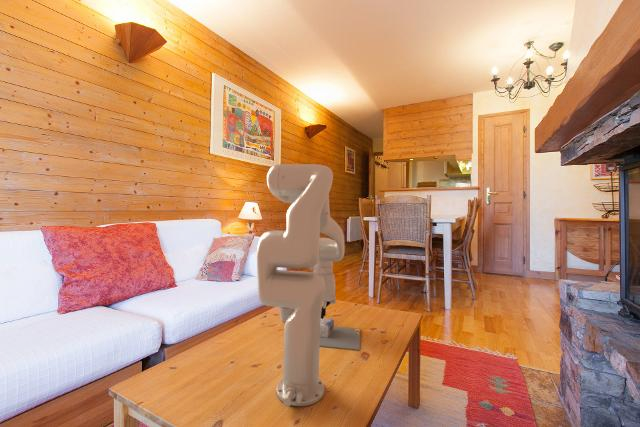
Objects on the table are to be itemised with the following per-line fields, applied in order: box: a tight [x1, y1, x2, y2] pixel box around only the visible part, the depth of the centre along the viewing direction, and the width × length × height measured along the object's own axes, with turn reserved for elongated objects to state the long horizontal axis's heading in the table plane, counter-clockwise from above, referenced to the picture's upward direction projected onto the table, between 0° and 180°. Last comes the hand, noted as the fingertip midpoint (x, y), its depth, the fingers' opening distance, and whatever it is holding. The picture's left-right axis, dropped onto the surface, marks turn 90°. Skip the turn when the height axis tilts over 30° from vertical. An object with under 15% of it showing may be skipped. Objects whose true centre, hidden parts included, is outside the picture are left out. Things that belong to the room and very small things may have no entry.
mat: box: [320, 325, 361, 351], centre depth 112 cm, size 18×22×1 cm
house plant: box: [278, 307, 295, 323], centre depth 125 cm, size 14×14×16 cm
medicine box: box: [320, 317, 335, 338], centre depth 114 cm, size 8×4×9 cm
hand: (321, 317), depth 113 cm, fingers closed
